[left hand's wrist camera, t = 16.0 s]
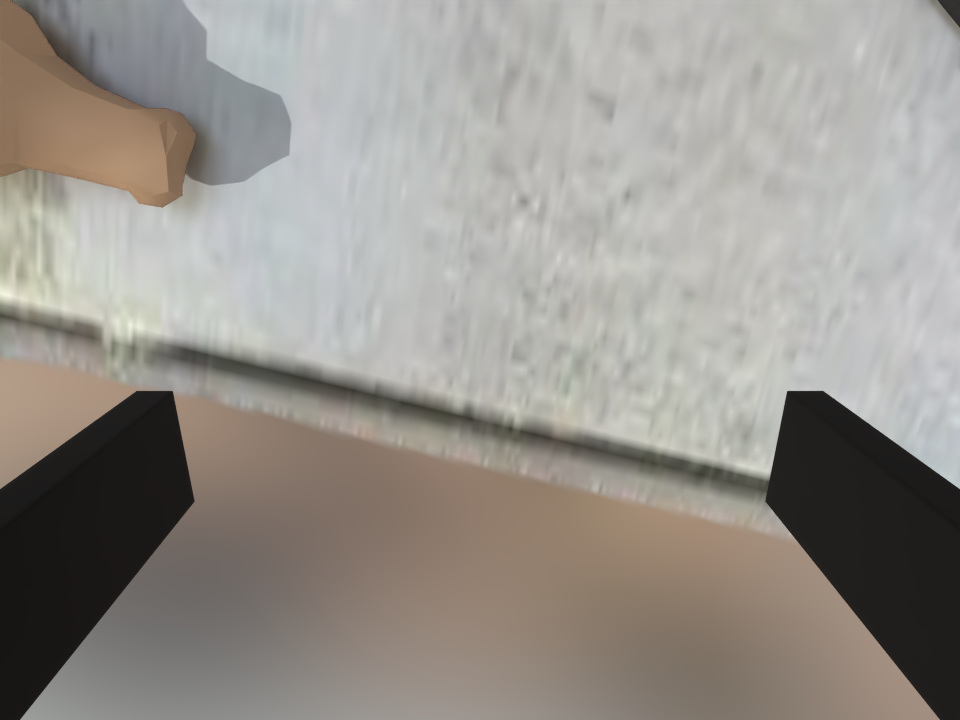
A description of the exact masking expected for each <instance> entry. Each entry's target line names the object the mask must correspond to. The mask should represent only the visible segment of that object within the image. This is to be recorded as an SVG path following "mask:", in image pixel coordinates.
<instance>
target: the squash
mask: <svg viewBox="0 0 960 720" xmlns="http://www.w3.org/2000/svg"><path fill="white" fill-rule="evenodd" d="M196 135H197V134H196V133H195V131H194V130H193V128H192V127H191V125H190V124H189V122H188V121H187V119H186V118H185V117H184V115H183V114H181V113H178V112H175V111H172V110H170V109H167V108H154V109H147V108H145V107H143V106H140V105H138V104H136V103H133V102H131V101H129V100H127V99H124V98H122V97H120V96H118V95H115V94H113V93H111V92H109V91H106V90H104V89H102V88H100V87H97V86H95V85H94V84H93V83H92V82H90V81H89V80H88V79H86V78H85V77H84V76H83V75H81V74H80V73H79V72H77V71H76V70H75V69H73V68H72V67H71V66H70V65H68V64H67V63H66V62H64V61H63V60H62V59H61V58H59V57H58V56H57V55H56V53H55V52H54V50H53V49H52V47H51V46H50V44H49V42H48V41H47V39H46V38H45V36H44V35H43V33H42V31H41V30H40V28H39V27H38V25H37V24H36V22H35V20H34V19H33V17H32V16H31V15H30V14H29V13H27V12H26V11H25V10H23V9H22V8H20V7H19V6H18V5H16V4H15V3H13V2H12V1H11V0H0V177H1V176H6V175H9V174H12V173H15V172H18V171H21V170H24V169H27V168H32V169H36V170H41V171H46V172H50V173H55V174H60V175H64V176H69V177H74V178H78V179H82V180H86V181H90V182H95V183H99V184H103V185H107V186H111V187H115V188H119V189H123V190H127V191H129V192H130V193H131V194H132V195H133V197H134V198H135V199H136V200H137V202H138V203H139V204H145V205H151V206H157V207H164V206H166V205H167V204H169V203H171V202H172V201H174V200H175V199H177V198H179V197H180V196H182V187H183V182H184V177H185V172H186V168H187V163H188V161H189V158H190V155H191V152H192V150H193V147H194V144H195V140H196Z"/></svg>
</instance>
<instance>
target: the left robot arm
mask: <svg viewBox="0 0 960 720" xmlns="http://www.w3.org/2000/svg"><path fill="white" fill-rule="evenodd" d="M938 1H939V2H940V4H941V5H942V6H943V7H944V9H945V10H946V11H947V12H948V14H949V15H950V16H951V17H952V19H953V20H954V21H955V22H956V23H957V25H958V26H959V27H960V0H938ZM193 503H194V496H193V491H192V486H191V481H190V476H189V471H188V466H187V461H186V456H185V451H184V446H183V441H182V436H181V431H180V426H179V421H178V416H177V410H176V405H175V401H174V395H173V391H136V392H135V393H134V394H132V395H131V396H129V397H128V398H126V399H125V400H124V401H122V402H121V403H119V404H118V405H117V406H115V407H114V408H113V409H111V410H110V411H108V412H107V413H106V414H104V415H103V416H102V417H100V418H99V419H97V420H96V421H94V422H93V423H92V424H90V425H89V426H88V427H86V428H85V429H83V430H82V431H81V432H79V433H78V434H76V435H75V436H74V437H72V438H71V439H69V440H68V441H67V442H65V443H64V444H62V445H61V446H60V447H58V448H57V449H56V450H54V451H53V452H51V453H50V454H49V455H47V456H46V457H44V458H43V459H42V460H40V461H39V462H37V463H36V464H35V465H33V466H32V467H30V468H29V469H28V470H26V471H25V472H24V473H22V474H21V475H19V476H18V477H17V478H15V479H14V480H12V481H11V482H10V483H8V484H7V485H6V486H4V487H3V488H1V489H0V720H20V719H21V718H22V716H23V715H24V714H25V713H26V711H27V710H28V709H29V708H30V706H31V705H32V704H33V703H34V701H35V700H36V699H37V698H38V696H39V695H40V694H41V693H42V691H43V690H44V689H45V688H46V686H47V685H48V684H49V683H50V681H51V680H52V679H53V678H54V676H55V675H56V674H57V673H58V671H59V670H60V669H61V668H62V666H63V665H64V664H65V663H66V661H67V660H68V659H69V658H70V656H71V655H72V654H73V653H74V651H75V650H76V649H77V648H78V646H79V645H80V644H81V643H82V641H83V640H84V639H85V638H86V636H87V635H88V634H89V633H90V631H91V630H92V629H93V628H94V626H95V625H96V624H97V623H98V621H99V620H100V619H101V618H102V616H103V615H104V614H105V613H106V611H107V610H108V609H109V608H110V606H111V605H112V604H113V603H114V601H115V600H116V599H117V598H118V596H119V595H120V594H121V593H122V591H123V590H124V589H125V588H126V586H127V585H128V584H129V583H130V581H131V580H132V579H133V578H134V576H135V575H136V574H137V573H138V571H139V570H140V569H141V568H142V566H143V565H144V564H145V563H146V561H147V560H148V559H149V558H150V556H151V555H152V554H153V553H154V551H155V550H156V549H157V548H158V546H159V545H160V544H161V543H162V541H163V540H164V539H165V538H166V536H167V535H168V534H169V533H170V531H171V530H172V529H173V528H174V526H175V525H176V524H177V523H178V521H179V520H180V519H181V518H182V516H183V515H184V514H185V513H186V511H187V510H188V509H189V508H190V506H191V505H192V504H193ZM766 503H767V504H768V505H769V506H770V508H771V509H772V510H773V511H774V513H775V514H776V515H777V516H778V518H779V519H780V520H781V521H782V523H783V524H784V525H785V526H786V528H787V529H788V530H789V531H790V533H791V534H792V535H793V536H794V538H795V539H796V540H797V541H798V543H799V544H800V545H801V546H802V548H803V549H804V550H805V551H806V553H807V554H808V555H809V556H810V558H811V559H812V560H813V561H814V563H815V564H816V565H817V566H818V568H819V569H820V570H821V571H822V573H823V574H824V575H825V576H826V578H827V579H828V580H829V581H830V583H831V584H832V585H833V586H834V588H835V589H836V590H837V591H838V593H839V594H840V595H841V596H842V598H843V599H844V600H845V601H846V603H847V604H848V605H849V606H850V608H851V609H852V610H853V611H854V613H855V614H856V615H857V616H858V618H859V619H860V620H861V621H862V623H863V624H864V625H865V626H866V628H867V629H868V630H869V631H870V633H871V634H872V635H873V636H874V638H875V639H876V640H877V641H878V643H879V644H880V645H881V646H882V648H883V649H884V650H885V651H886V653H887V654H888V655H889V656H890V658H891V659H892V660H893V661H894V663H895V664H896V665H897V666H898V668H899V669H900V670H901V671H902V673H903V674H904V675H905V676H906V678H907V679H908V680H909V681H910V683H911V684H912V685H913V686H914V688H915V689H916V690H917V691H918V693H919V694H920V695H921V696H922V698H923V699H924V700H925V701H926V703H927V704H928V705H929V706H930V708H931V709H932V710H933V711H934V713H935V714H936V715H937V716H938V718H939V719H940V720H960V489H959V488H957V487H956V486H955V485H953V484H952V483H950V482H949V481H948V480H946V479H945V478H943V477H942V476H941V475H939V474H938V473H936V472H935V471H934V470H932V469H931V468H930V467H928V466H927V465H925V464H924V463H923V462H921V461H920V460H918V459H917V458H916V457H914V456H913V455H911V454H910V453H909V452H907V451H906V450H904V449H903V448H902V447H900V446H899V445H898V444H896V443H895V442H893V441H892V440H891V439H889V438H888V437H886V436H885V435H884V434H882V433H881V432H879V431H878V430H877V429H875V428H874V427H872V426H871V425H870V424H868V423H867V422H866V421H864V420H863V419H861V418H860V417H859V416H857V415H856V414H854V413H853V412H852V411H850V410H849V409H847V408H846V407H845V406H843V405H842V404H840V403H839V402H838V401H836V400H835V399H834V398H832V397H831V396H829V395H828V394H827V393H825V392H824V391H787V395H786V400H785V405H784V410H783V416H782V421H781V426H780V431H779V436H778V441H777V446H776V451H775V456H774V461H773V466H772V471H771V476H770V481H769V486H768V491H767V496H766Z"/></svg>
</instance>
